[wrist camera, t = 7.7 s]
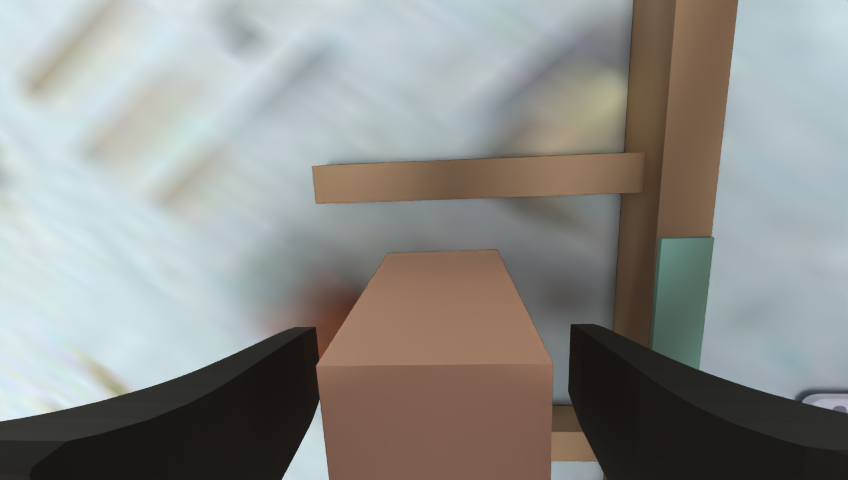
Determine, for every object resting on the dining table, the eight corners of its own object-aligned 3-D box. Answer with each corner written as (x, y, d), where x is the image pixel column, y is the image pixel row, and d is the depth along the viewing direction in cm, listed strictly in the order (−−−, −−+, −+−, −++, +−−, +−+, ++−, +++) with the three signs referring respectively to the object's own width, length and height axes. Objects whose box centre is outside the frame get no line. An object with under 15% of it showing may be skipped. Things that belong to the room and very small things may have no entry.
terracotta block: (496, 249, 14) (553, 363, 6) (498, 350, 15) (548, 560, 7) (387, 252, 15) (315, 366, 7) (394, 351, 15) (337, 554, 8)
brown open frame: (701, -197, 11) (779, -308, 8) (629, 622, 17) (661, 706, 15) (297, -155, 12) (253, -243, 9) (367, 611, 18) (353, 688, 16)
